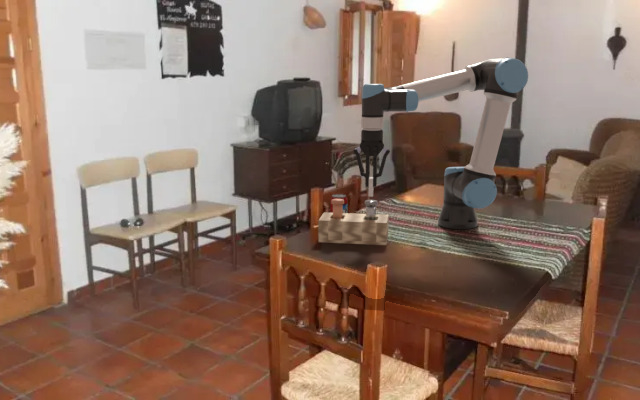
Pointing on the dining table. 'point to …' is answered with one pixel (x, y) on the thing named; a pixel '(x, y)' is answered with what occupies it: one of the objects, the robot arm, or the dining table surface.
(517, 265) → the dining table surface
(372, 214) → the grey plug
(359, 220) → the block
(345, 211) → the beverage can
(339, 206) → the terracotta plug
